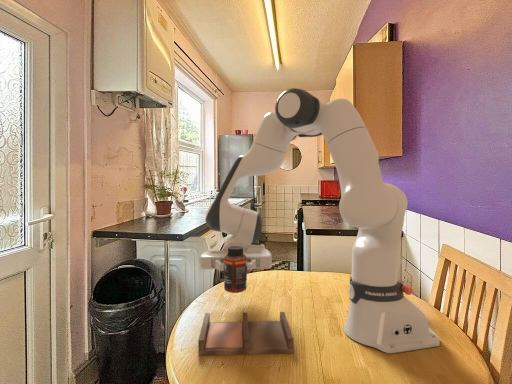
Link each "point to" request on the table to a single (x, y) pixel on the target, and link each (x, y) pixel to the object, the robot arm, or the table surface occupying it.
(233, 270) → the supplement bottle
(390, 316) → the robot arm
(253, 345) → the slot rack
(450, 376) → the table surface
